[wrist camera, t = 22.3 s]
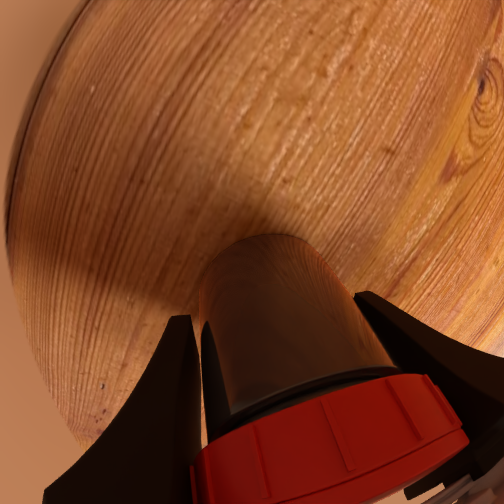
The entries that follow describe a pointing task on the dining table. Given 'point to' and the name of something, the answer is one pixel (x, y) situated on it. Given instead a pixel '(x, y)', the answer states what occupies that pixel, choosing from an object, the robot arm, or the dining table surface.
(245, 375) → the jar
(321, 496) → the jar lid
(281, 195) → the dining table surface
